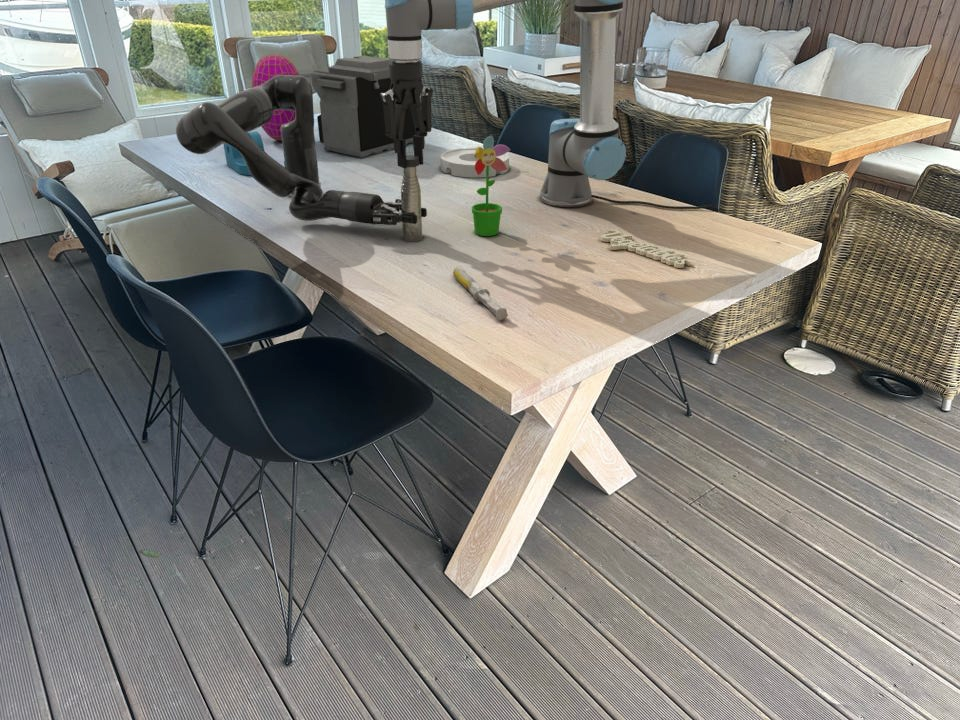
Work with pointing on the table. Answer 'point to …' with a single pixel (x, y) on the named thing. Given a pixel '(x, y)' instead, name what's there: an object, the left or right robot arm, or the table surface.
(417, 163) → the cap
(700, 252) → the table surface
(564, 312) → the table surface
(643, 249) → the decorative sign
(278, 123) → the decorative egg
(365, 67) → the cooler box
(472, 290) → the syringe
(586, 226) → the table surface
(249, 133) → the camera mount
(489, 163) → the potted flower
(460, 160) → the ashtray
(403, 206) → the bottle
